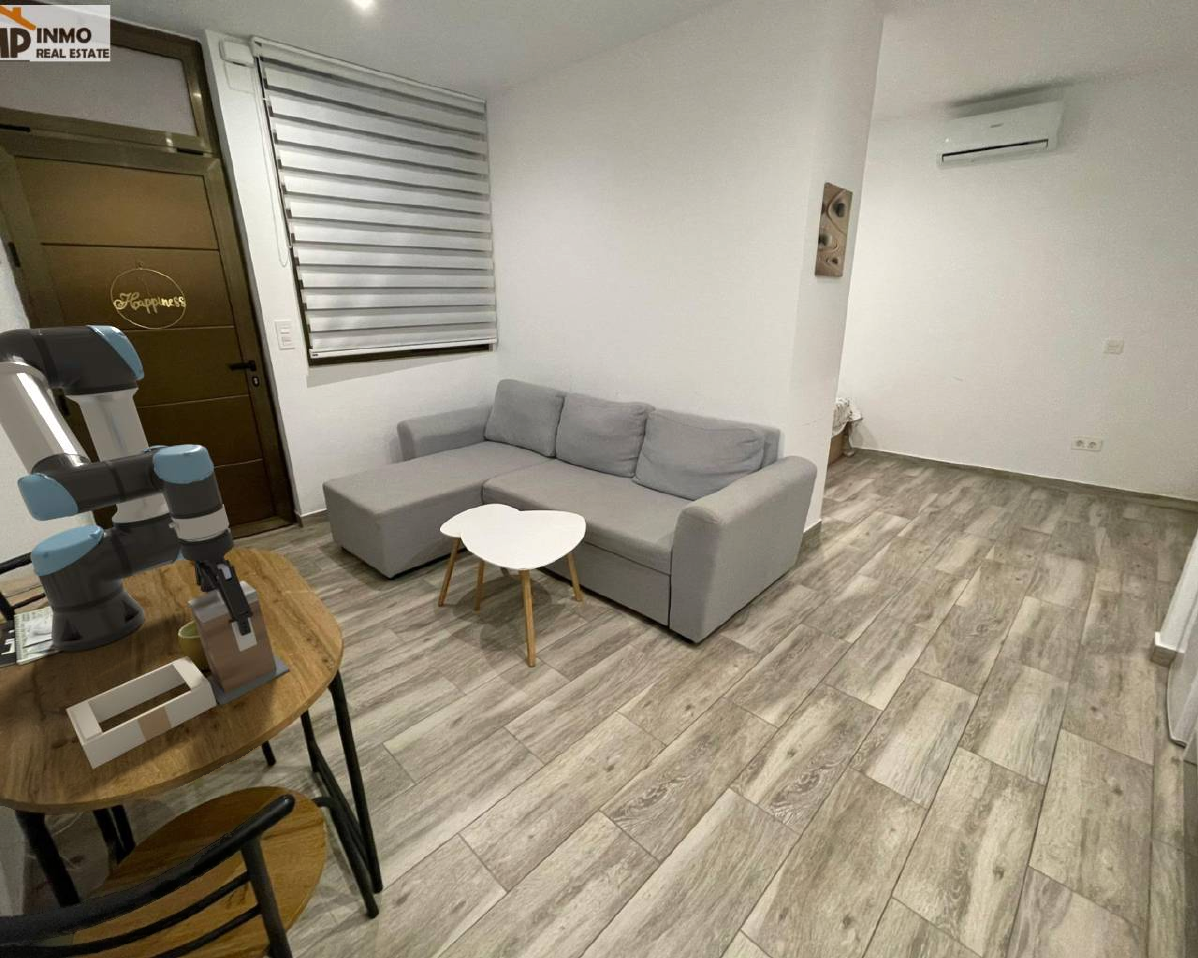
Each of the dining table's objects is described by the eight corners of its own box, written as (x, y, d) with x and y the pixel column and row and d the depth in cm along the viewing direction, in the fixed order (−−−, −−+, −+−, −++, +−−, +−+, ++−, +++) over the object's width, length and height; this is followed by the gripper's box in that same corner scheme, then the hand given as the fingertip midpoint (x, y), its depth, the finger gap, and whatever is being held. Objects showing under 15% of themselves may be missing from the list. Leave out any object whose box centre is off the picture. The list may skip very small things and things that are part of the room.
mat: (202, 682, 102) (201, 680, 102) (268, 649, 111) (268, 648, 110) (221, 705, 96) (220, 704, 96) (289, 669, 105) (289, 668, 105)
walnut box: (213, 680, 102) (187, 601, 95) (264, 655, 108) (243, 580, 102) (225, 694, 98) (199, 613, 92) (277, 668, 105) (256, 590, 98)
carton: (76, 731, 91) (65, 707, 89) (194, 676, 103) (186, 653, 101) (92, 769, 83) (81, 743, 82) (217, 704, 96) (209, 681, 94)
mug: (212, 674, 101) (196, 625, 100) (175, 680, 104) (159, 633, 103) (267, 645, 113) (253, 602, 112) (233, 651, 116) (218, 609, 115)
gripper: (156, 521, 97) (188, 618, 104) (204, 562, 82) (237, 671, 90) (203, 508, 102) (231, 601, 110) (256, 544, 88) (283, 648, 95)
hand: (233, 632), depth 100 cm, fingers open, 13 cm apart
